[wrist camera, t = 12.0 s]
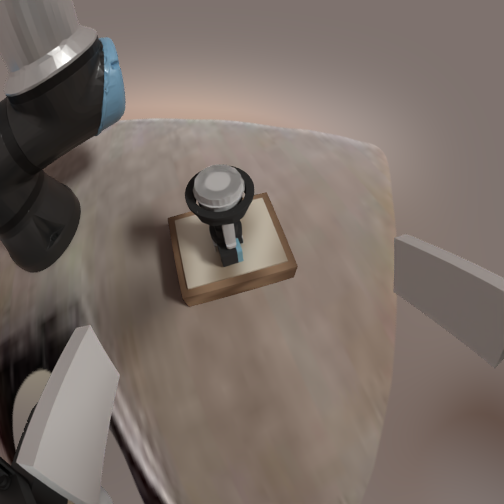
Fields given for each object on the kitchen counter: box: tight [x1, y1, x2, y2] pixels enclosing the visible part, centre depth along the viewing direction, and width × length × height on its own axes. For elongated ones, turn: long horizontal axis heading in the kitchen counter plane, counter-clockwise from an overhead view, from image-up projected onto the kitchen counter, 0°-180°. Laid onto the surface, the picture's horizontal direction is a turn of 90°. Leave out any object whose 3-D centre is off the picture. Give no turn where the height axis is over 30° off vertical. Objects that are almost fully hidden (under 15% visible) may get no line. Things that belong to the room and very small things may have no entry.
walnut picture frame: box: [168, 192, 298, 307], centre depth 30 cm, size 12×10×3 cm
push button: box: [185, 164, 254, 267], centre depth 24 cm, size 7×5×10 cm
